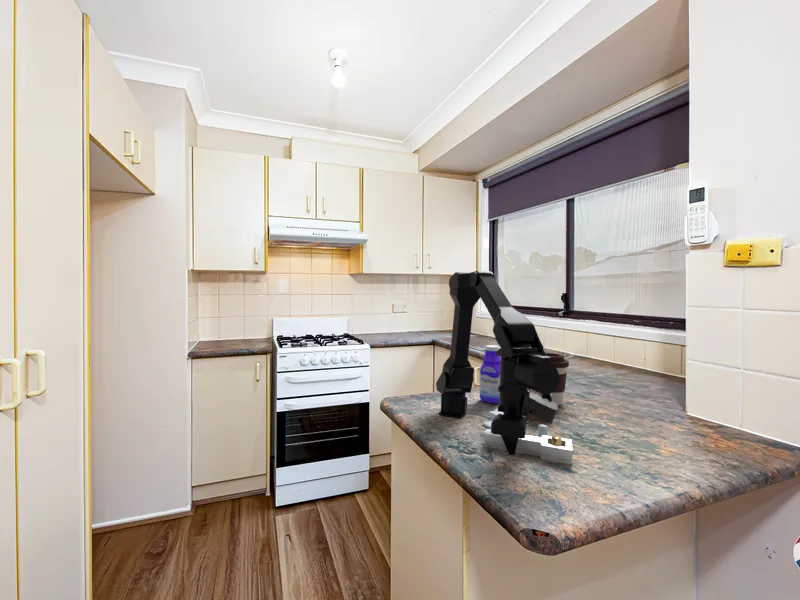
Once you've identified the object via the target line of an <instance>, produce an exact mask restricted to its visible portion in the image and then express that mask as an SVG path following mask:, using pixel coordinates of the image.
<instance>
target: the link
mask: <svg viewBox="0 0 800 600" xmlns="http://www.w3.org/2000/svg"><path fill="white" fill-rule="evenodd" d="M552 436H553V435H547V436H546V435H542V437H538V436H536V435H530V434H526V436H525V438H523V439H520V438H518V443H517V447H516V451H515V453H520V454H524V455H525V454H526V455H531V456H537V457H540V460H542V461H543V460H544V461H549V462H554V463H559V464H566V465H569V466H570V465H571V466H572V465H573V442H572V439H570V438H564V437H561V438H562V446H557V445H551V441H552ZM483 438H484V439H483V440H484V441H483V442H484V443H483V447H486V448H490V449H491V448H492V449H496V450H497V449H498V450H504V451H507V449H506V446H505V444H504V441H503V439H502V437H501V435H496V434H492V433H491V429H490V428H486V429H485V431H484V436H483Z"/></svg>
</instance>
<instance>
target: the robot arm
mask: <svg viewBox="0 0 800 600" xmlns="http://www.w3.org/2000/svg"><path fill="white" fill-rule="evenodd" d="M495 277H496V276H495V274H494V273H493V272H492V271H489V270H475V271H471V272H462V271H461V272H459V271H458V272H457V271H456V272H454V273H453V275H451V276H450V277H449V279H448V287H449V295H450V297H451V300H452V301H453V303H454V312H453V319H452V320H453V321H452V322H453V323H452V332H451V342H450V352H449V353H450V354H449V356H448V357H447V359H446V360H445V362H444V363H443V364H442V365H443V366H442V369H441V373H440V375H439V377H438V379H437V380H436V382H435V386H436V391H437V392H439V394H440V396H441V397H440V398H441V399H440V411H439V413H438V415H440V416H446V417H452V418H459V419H462V418H463V417H464V416H465V414H466V413H467V412H468V397H467V396H466V393H470V394H471V392H472V389H473V383H474V380H475V378H474V375H475V374H474V373H475V367H473V366H472V364H471V361H470V360H469V352H470V351H469V350H470V343H471V333H472V323H473V315H474V314H473V312H474V307H475V305H476V304H477V303H478V301H479V300H480V299H481V301H482V303H483V304H484V307H485V308H486V310H487V311H488V313H489V315H490V317H491V319H492V321H493V326H492V333H493V335H494V337H495V341H496V344H498V345H497V346H499V350H498V351H497V352H496V355H498V356H500V358H501V362H500V385H499V386H498V392H500V395H499V404H498V405H497V409H498V412H504V413H503V414H498V415H497V416H495V417H494V418H493V419H492V420H491V421H492V423H491V433H492V434H496V435H501V437H502V439H503V441H504V444H505V446H506V449H507V450H506V451H507V453H508V455H509V456H511V457H513V456H515V455H516V452H515V451H516V447H517V443H518V438H520V439H523V438H525V436H526V435H527V431H528V430H527V429H528V427H529V426H528V424H529V421H530V420H529V419H528V418H527V417H526V416H528V414H529V413H530V414H532V415H534V416H536V417H538V418H540V419H542V420H544V421H543V422H544V423H546V424H548V425H552V424H553V421H554V420H555V417H556V415H557V413H558V411H559V405H557V404H556V402H552V394H550V393H552V392H554V391H555V389H556V388H557V387H558V384H559V381H560V375H559V373H558V370H557V368H556V367H555V366H554V365H552V364H551V358H550V357H548V356H545V353H546V352H545V349H544V348H545V346H544V345H543V343H542V342H541V339H540V336H539V334H538V332H537V330H536V327H535V325H534V323H533V322H532V321H531V319H529V318H528V317H527V316H526V315H525V314H523V313H521V312H520V311H518V310H516V309H515V308H514V307H513V305H512V303H510V301H509V299H508V298H507V296H506V294H505V293H504V292H503V290H502V289H501V287H500V285H499V284H498V282H497V281H496V278H495ZM531 390H534V391H536V392H538V393H540V395H539V394H537V395H536V394H534V393H531ZM523 416H525V417H523Z"/></svg>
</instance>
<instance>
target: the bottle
mask: <svg viewBox="0 0 800 600" xmlns="http://www.w3.org/2000/svg"><path fill="white" fill-rule="evenodd" d="M499 349H500V346H499V345H490V344H489V345H488V344H487V345H485V353H484V356H483V358H482V364H481V366H480V369H479V398H480V401H482V402H484V403H488V404H494V405H497V404H498V405H499V395H500V392H498V386H499V385H500V362H501V356H498V355H496V352H497V351H498V350H499Z"/></svg>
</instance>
